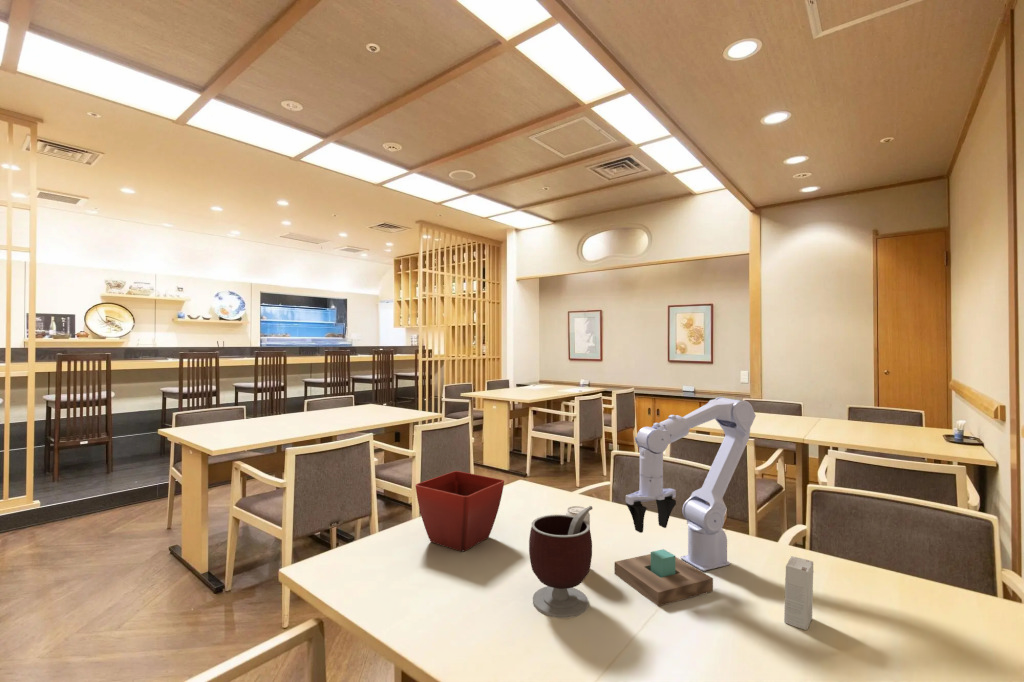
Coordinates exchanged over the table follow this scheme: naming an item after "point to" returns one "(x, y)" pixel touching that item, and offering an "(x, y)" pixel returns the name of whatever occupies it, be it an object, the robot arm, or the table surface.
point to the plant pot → (459, 508)
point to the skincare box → (798, 592)
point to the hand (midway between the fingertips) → (650, 528)
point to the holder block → (663, 580)
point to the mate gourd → (560, 562)
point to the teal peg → (662, 563)
